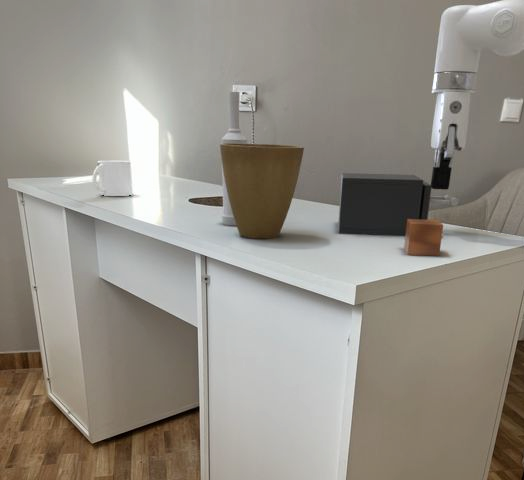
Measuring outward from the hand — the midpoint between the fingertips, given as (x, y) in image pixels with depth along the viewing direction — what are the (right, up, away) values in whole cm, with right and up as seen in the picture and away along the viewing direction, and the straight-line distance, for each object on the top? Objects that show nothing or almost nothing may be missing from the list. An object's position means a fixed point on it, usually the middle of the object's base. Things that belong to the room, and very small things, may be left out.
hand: (439, 188), depth 108 cm
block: (-8, -15, -17) cm, 24 cm away
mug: (-78, +13, +52) cm, 94 cm away
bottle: (-40, -5, +7) cm, 41 cm away
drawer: (-7, -7, +3) cm, 10 cm away
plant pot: (-35, -10, -4) cm, 37 cm away
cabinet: (-12, -7, +4) cm, 14 cm away
